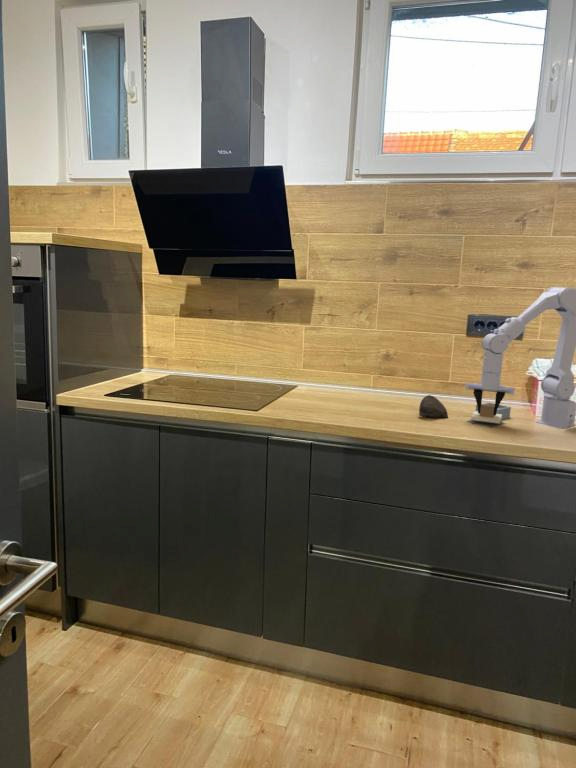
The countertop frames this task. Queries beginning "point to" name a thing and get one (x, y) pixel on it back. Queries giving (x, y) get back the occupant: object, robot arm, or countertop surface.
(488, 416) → the lid
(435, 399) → the stone
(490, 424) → the mat
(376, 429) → the countertop surface
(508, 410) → the box
